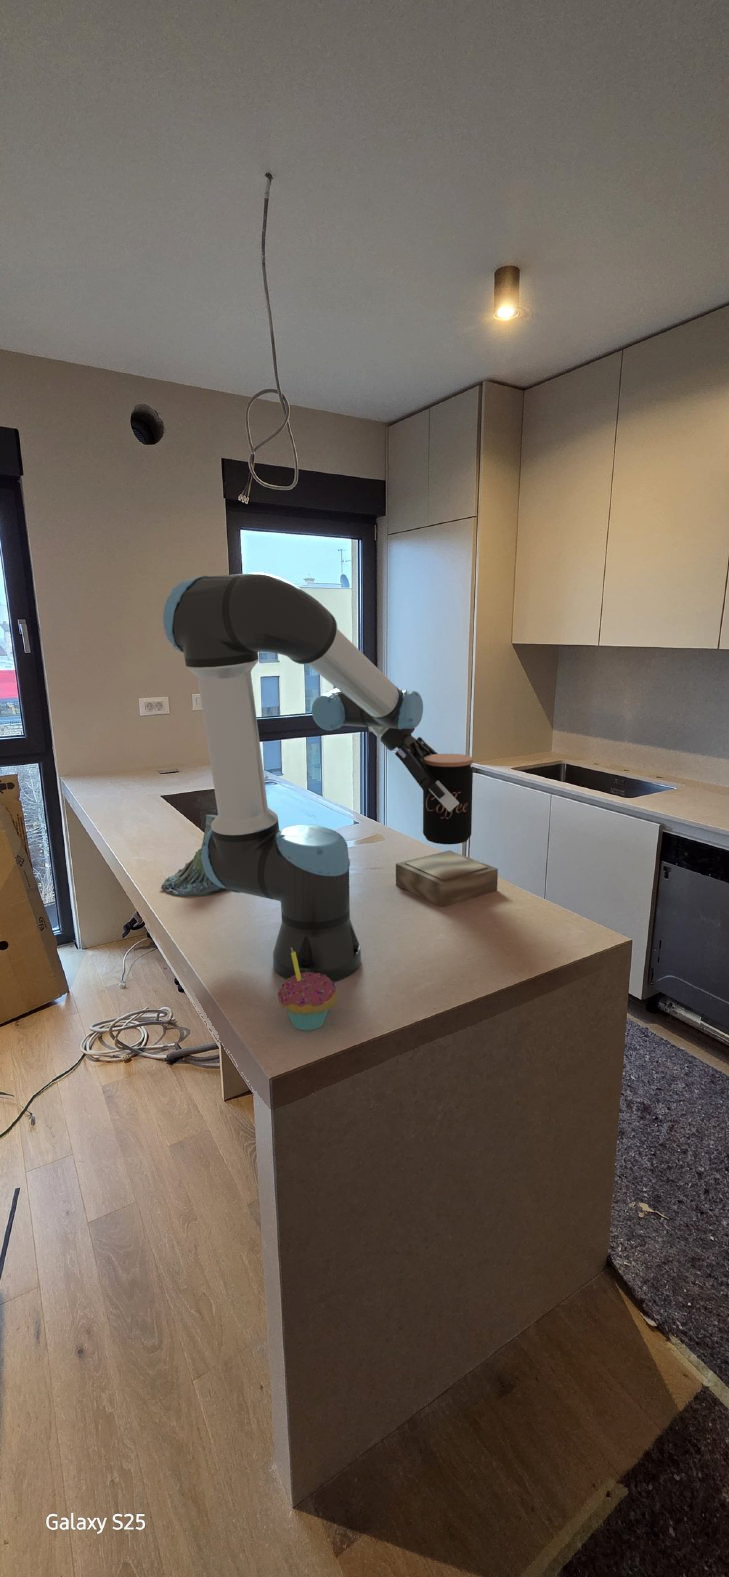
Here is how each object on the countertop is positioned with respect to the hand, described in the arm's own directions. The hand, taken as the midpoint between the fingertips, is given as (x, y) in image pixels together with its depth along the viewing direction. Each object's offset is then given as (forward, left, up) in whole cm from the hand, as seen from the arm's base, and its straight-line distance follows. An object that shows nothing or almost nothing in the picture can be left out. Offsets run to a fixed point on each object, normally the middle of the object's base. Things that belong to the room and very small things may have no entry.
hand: (460, 801), depth 142 cm
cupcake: (-27, +53, -20) cm, 63 cm away
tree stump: (+38, +44, -20) cm, 62 cm away
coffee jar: (+2, +2, -9) cm, 9 cm away
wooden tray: (+2, +2, -20) cm, 20 cm away
